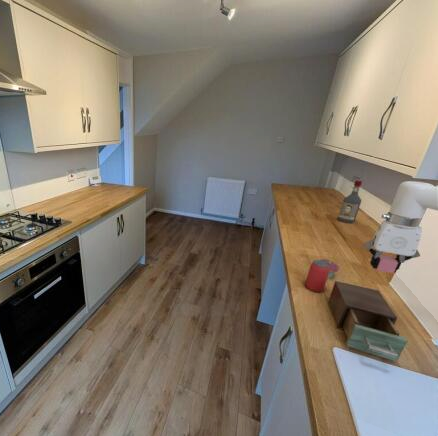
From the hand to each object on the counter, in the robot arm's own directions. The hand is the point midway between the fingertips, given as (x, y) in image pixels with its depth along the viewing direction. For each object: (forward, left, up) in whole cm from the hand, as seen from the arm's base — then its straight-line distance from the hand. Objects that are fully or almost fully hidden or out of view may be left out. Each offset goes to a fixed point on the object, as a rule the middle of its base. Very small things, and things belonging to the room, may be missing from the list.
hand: (383, 268), depth 83 cm
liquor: (-18, -112, -17) cm, 115 cm away
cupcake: (+10, -19, -17) cm, 28 cm away
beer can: (+16, -5, -17) cm, 24 cm away
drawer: (+6, +21, -16) cm, 27 cm away
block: (0, 0, 0) cm, 0 cm away
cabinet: (+6, +10, -17) cm, 21 cm away
